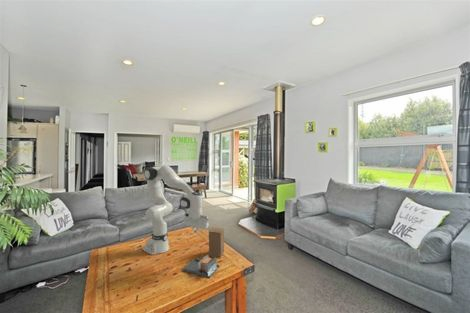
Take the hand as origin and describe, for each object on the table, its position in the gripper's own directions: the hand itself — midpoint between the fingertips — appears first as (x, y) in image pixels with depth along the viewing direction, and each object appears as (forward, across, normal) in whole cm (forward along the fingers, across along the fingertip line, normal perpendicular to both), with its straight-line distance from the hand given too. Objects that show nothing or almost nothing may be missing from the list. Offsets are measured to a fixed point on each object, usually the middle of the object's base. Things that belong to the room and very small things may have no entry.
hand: (195, 232), depth 152 cm
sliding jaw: (+21, -10, +5) cm, 24 cm away
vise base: (+23, -8, +5) cm, 25 cm away
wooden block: (+23, -8, -18) cm, 31 cm away
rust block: (+22, -13, +5) cm, 26 cm away
